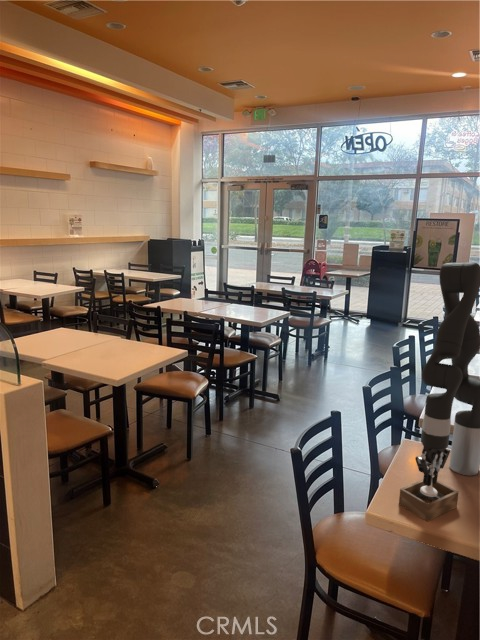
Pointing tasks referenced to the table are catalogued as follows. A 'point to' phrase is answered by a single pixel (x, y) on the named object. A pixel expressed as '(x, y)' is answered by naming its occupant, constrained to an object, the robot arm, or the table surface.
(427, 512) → the walnut box
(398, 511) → the table surface
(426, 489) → the chess piece
